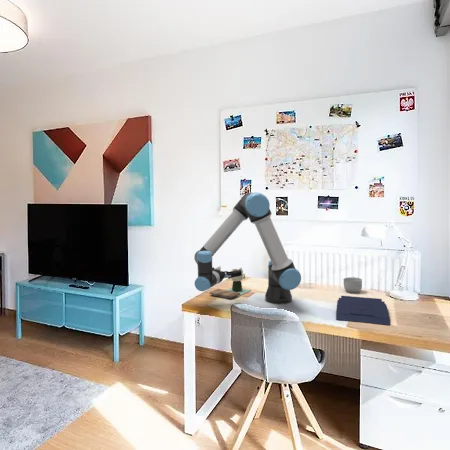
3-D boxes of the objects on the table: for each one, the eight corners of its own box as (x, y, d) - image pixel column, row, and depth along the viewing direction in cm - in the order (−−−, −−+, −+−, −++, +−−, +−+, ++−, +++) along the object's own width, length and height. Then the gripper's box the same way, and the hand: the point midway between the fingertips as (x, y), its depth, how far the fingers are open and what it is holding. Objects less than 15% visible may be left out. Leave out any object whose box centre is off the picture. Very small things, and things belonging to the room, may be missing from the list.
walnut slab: (240, 296, 215) (240, 292, 215) (231, 300, 208) (231, 296, 208) (218, 292, 224) (218, 288, 224) (209, 295, 217) (209, 292, 217)
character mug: (247, 290, 226) (247, 269, 224) (242, 293, 219) (242, 272, 218) (232, 288, 231) (232, 268, 230) (226, 290, 225) (226, 270, 224)
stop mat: (251, 290, 227) (251, 289, 226) (240, 295, 217) (240, 294, 217) (233, 287, 234) (233, 286, 234) (222, 292, 224) (222, 291, 224)
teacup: (359, 295, 216) (359, 281, 215) (340, 292, 222) (341, 279, 221) (364, 289, 228) (365, 277, 227) (347, 287, 234) (347, 275, 233)
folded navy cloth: (385, 303, 195) (385, 297, 195) (390, 330, 168) (391, 323, 167) (337, 299, 203) (337, 293, 202) (335, 324, 175) (335, 317, 175)
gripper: (194, 282, 200) (211, 274, 219) (235, 286, 189) (250, 277, 208) (193, 269, 199) (211, 261, 218) (235, 272, 188) (250, 264, 207)
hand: (230, 269), depth 213 cm, fingers open, 13 cm apart
